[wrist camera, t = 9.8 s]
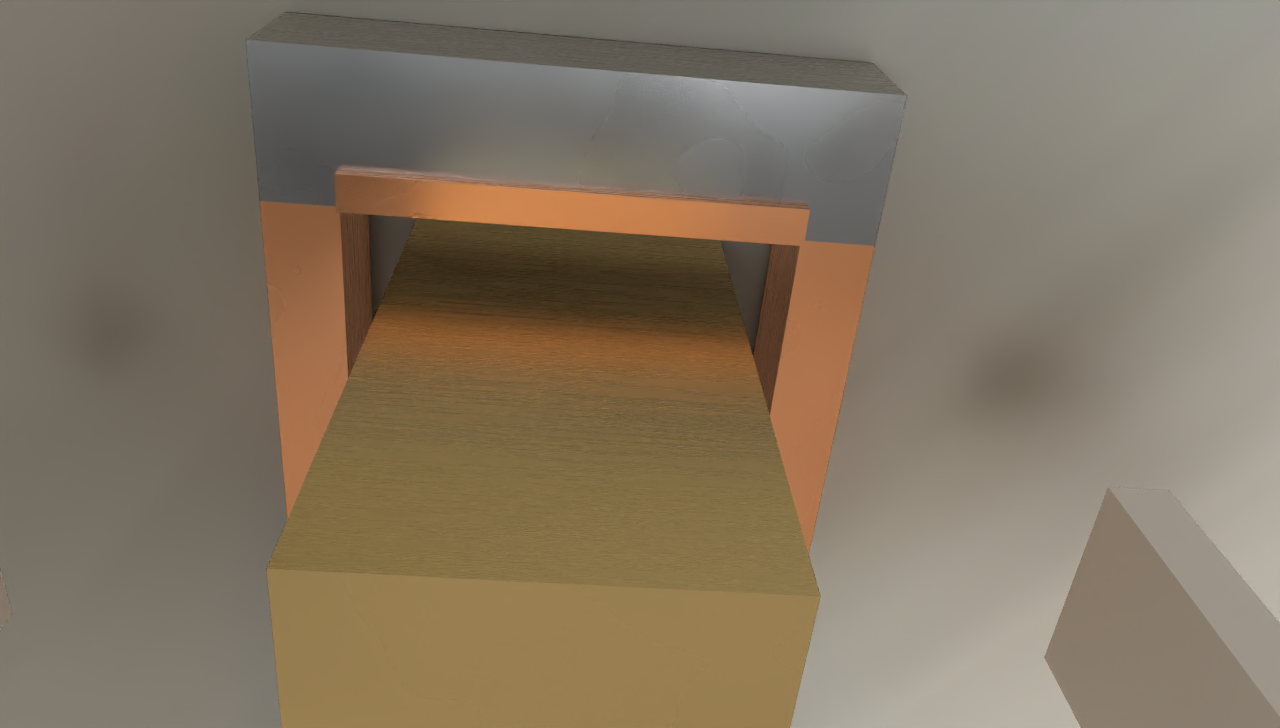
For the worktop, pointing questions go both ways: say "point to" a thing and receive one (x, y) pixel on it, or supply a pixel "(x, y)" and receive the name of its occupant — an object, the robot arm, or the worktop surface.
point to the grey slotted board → (566, 185)
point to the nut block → (546, 500)
